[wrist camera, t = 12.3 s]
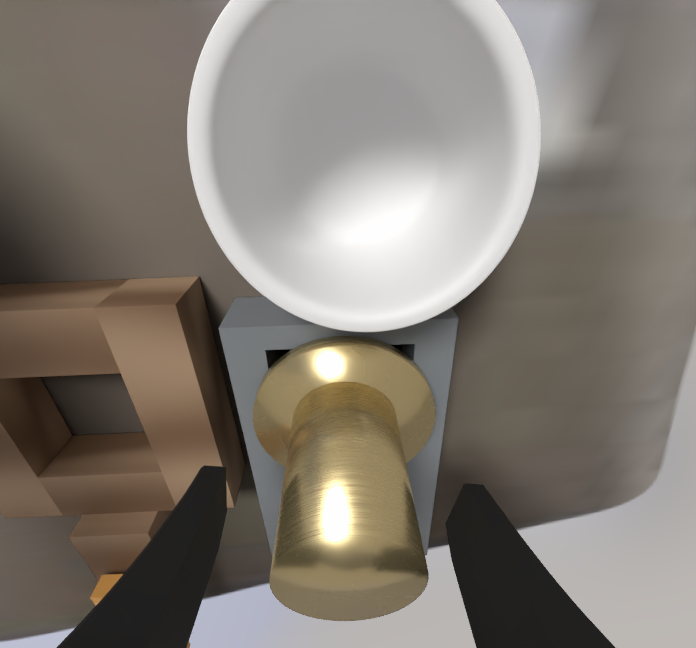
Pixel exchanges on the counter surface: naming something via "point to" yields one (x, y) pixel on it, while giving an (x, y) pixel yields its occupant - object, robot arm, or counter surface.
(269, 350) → the rack
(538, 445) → the counter surface
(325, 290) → the teacup
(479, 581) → the robot arm
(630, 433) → the counter surface
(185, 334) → the socket block
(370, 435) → the brass peg
